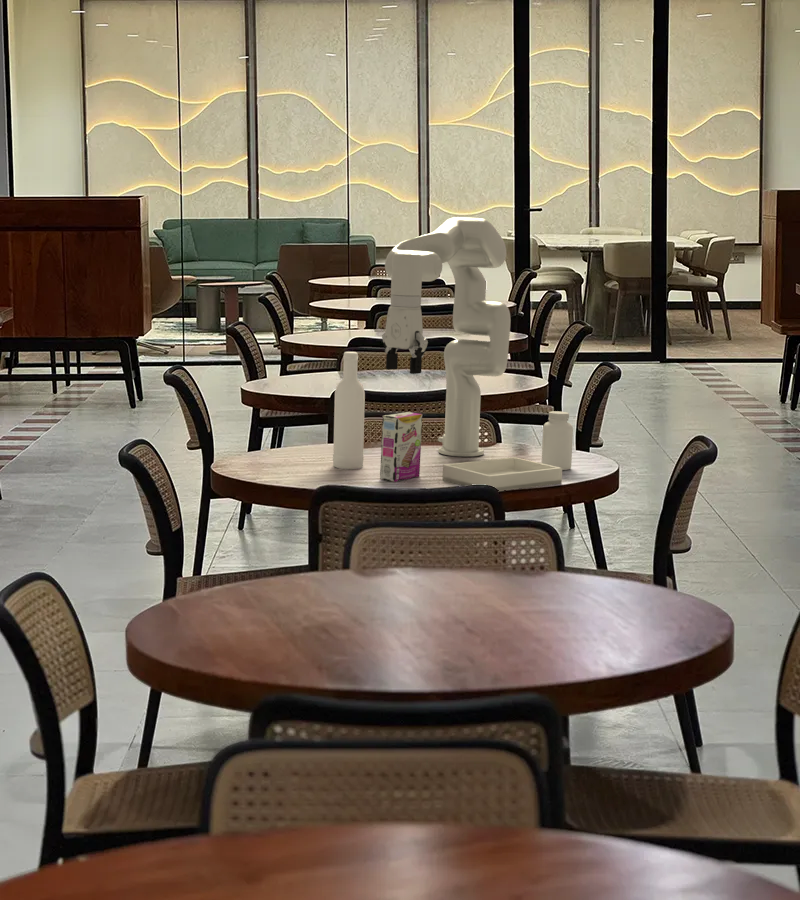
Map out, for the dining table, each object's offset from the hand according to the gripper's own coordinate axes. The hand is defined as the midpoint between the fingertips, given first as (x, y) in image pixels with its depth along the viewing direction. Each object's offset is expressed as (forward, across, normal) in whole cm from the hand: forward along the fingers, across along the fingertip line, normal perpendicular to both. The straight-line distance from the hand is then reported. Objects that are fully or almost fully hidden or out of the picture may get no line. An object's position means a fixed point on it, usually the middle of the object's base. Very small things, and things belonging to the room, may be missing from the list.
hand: (403, 371), depth 392 cm
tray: (+27, +16, +20) cm, 37 cm away
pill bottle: (+27, +8, +46) cm, 54 cm away
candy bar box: (+28, 0, 0) cm, 28 cm away
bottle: (+27, -20, -2) cm, 34 cm away
